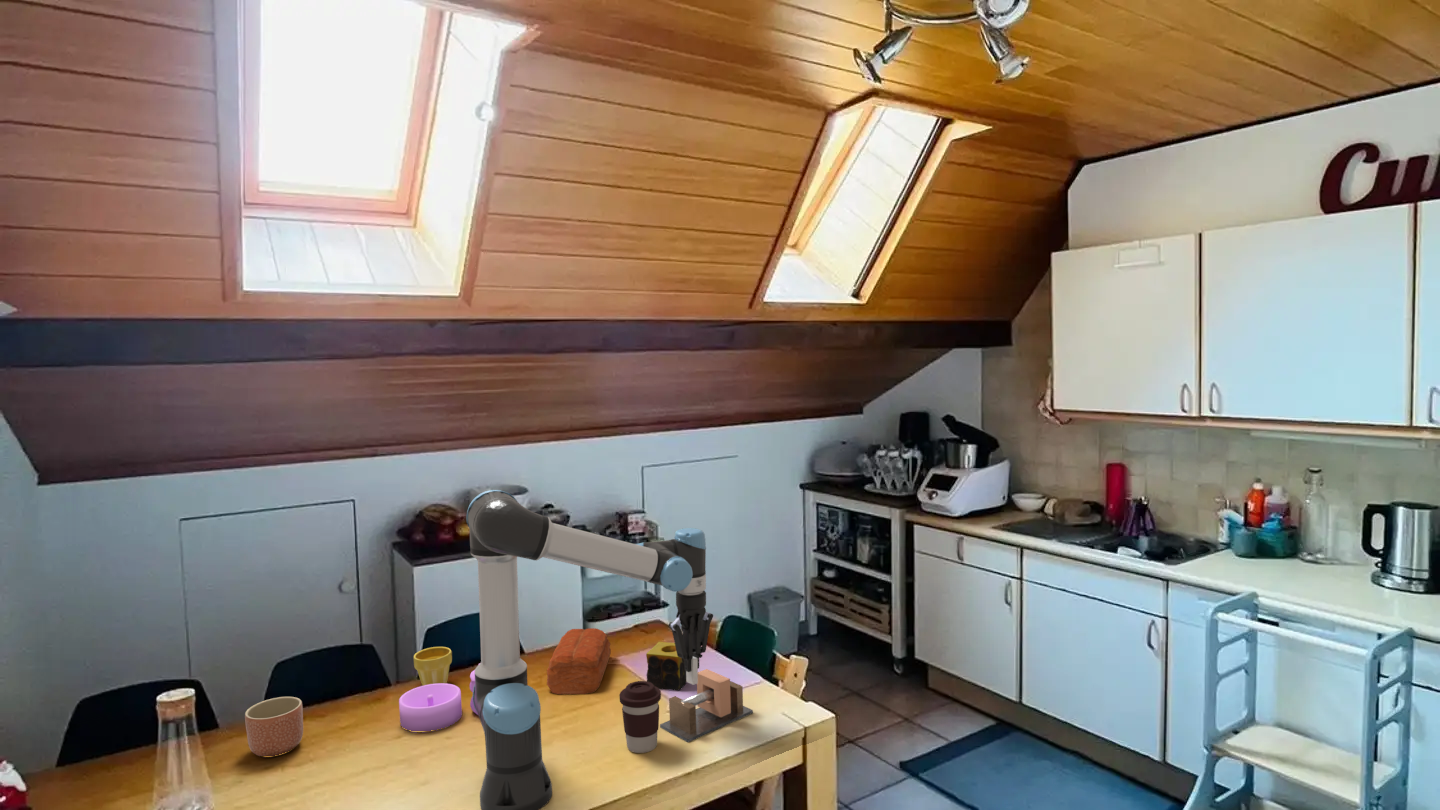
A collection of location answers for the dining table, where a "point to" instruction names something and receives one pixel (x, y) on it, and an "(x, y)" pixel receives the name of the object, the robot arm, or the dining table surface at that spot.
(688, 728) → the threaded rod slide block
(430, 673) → the plant pot
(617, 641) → the dining table surface
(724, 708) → the collar
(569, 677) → the bread
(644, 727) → the coffee cup
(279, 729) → the planter
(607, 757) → the dining table surface
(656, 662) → the candle
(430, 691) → the container set
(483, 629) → the robot arm
